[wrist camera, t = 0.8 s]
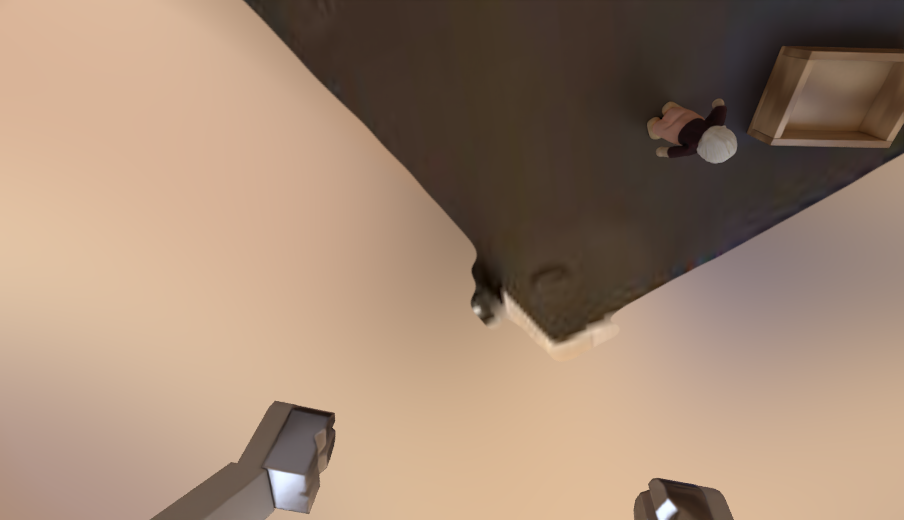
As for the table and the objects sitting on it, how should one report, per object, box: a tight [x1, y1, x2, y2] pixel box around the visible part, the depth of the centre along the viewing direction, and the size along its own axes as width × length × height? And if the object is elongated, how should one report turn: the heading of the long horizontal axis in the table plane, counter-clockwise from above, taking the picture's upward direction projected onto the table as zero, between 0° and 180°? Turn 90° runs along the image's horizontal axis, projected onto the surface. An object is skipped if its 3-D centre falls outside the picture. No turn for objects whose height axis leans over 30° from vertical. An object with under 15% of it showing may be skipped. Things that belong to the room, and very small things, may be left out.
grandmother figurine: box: [647, 99, 737, 163], centre depth 44 cm, size 8×4×13 cm, turn 151°
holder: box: [747, 46, 904, 148], centre depth 46 cm, size 10×14×5 cm
